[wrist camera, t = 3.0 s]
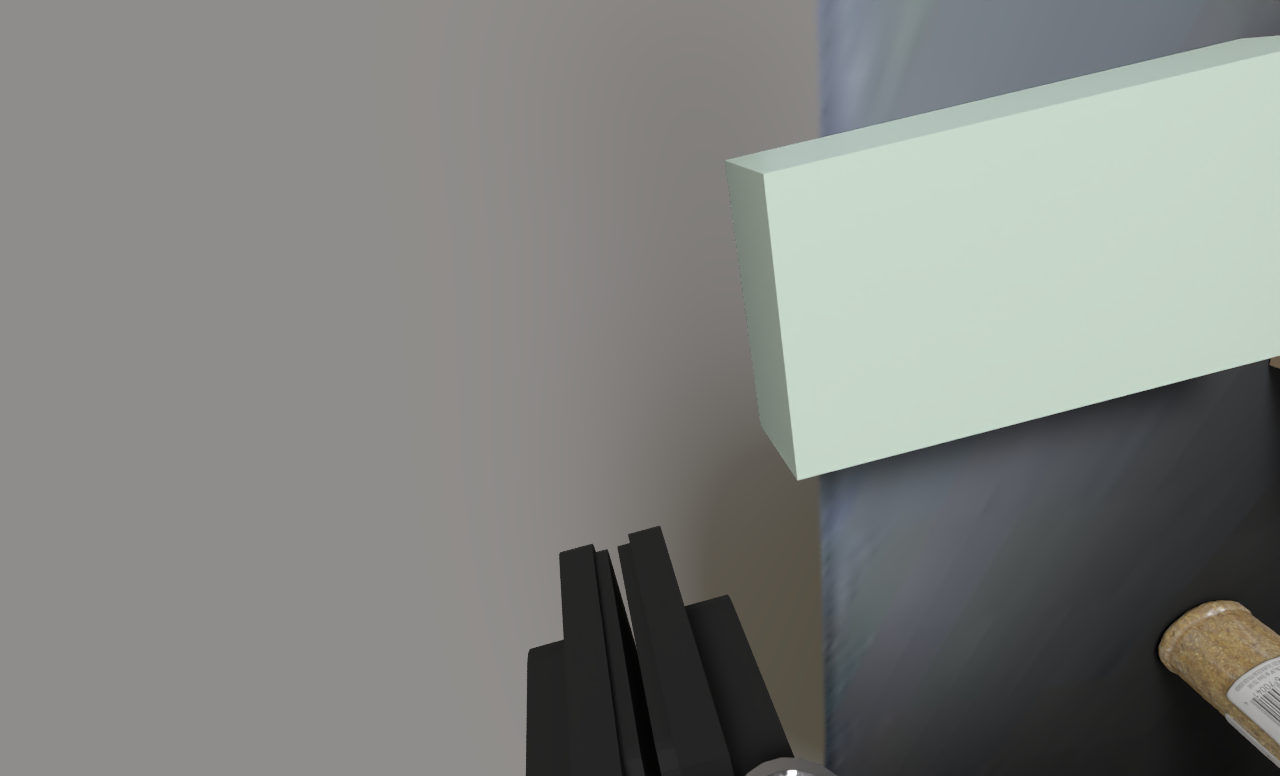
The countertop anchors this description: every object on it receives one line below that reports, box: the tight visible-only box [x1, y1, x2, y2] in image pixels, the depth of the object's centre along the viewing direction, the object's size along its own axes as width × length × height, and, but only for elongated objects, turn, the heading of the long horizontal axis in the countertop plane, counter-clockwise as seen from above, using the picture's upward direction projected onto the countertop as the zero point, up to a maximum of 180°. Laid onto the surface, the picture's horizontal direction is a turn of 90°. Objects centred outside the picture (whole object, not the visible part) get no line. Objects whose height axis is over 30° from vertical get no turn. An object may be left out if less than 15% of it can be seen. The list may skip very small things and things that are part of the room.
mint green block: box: [725, 36, 1280, 480], centre depth 19 cm, size 9×16×4 cm, turn 102°
